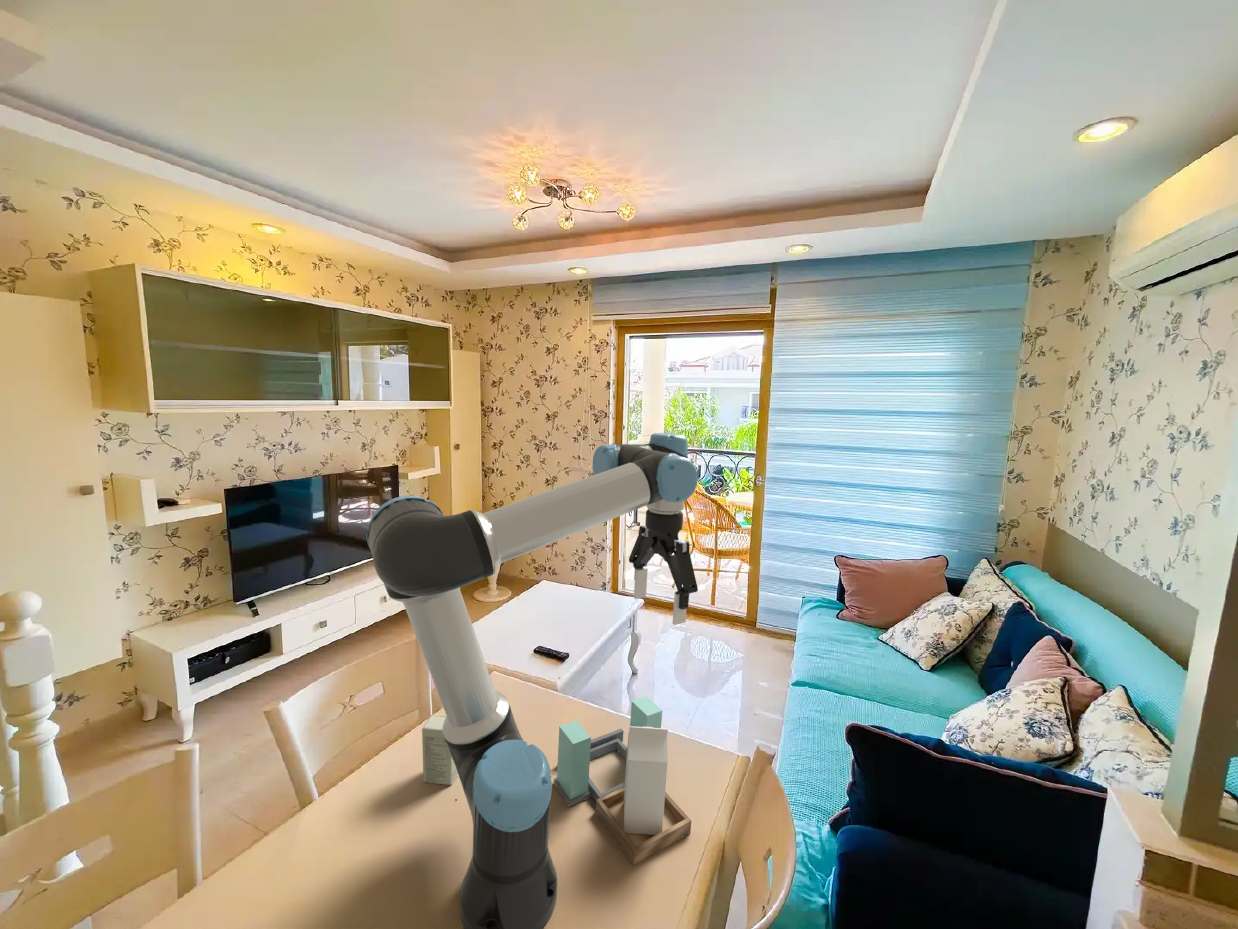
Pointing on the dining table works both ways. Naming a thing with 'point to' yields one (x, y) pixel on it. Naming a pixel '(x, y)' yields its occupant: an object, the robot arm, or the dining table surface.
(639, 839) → the tray
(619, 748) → the holder
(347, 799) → the dining table surface
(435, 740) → the skincare box
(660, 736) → the milk carton
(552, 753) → the dining table surface
